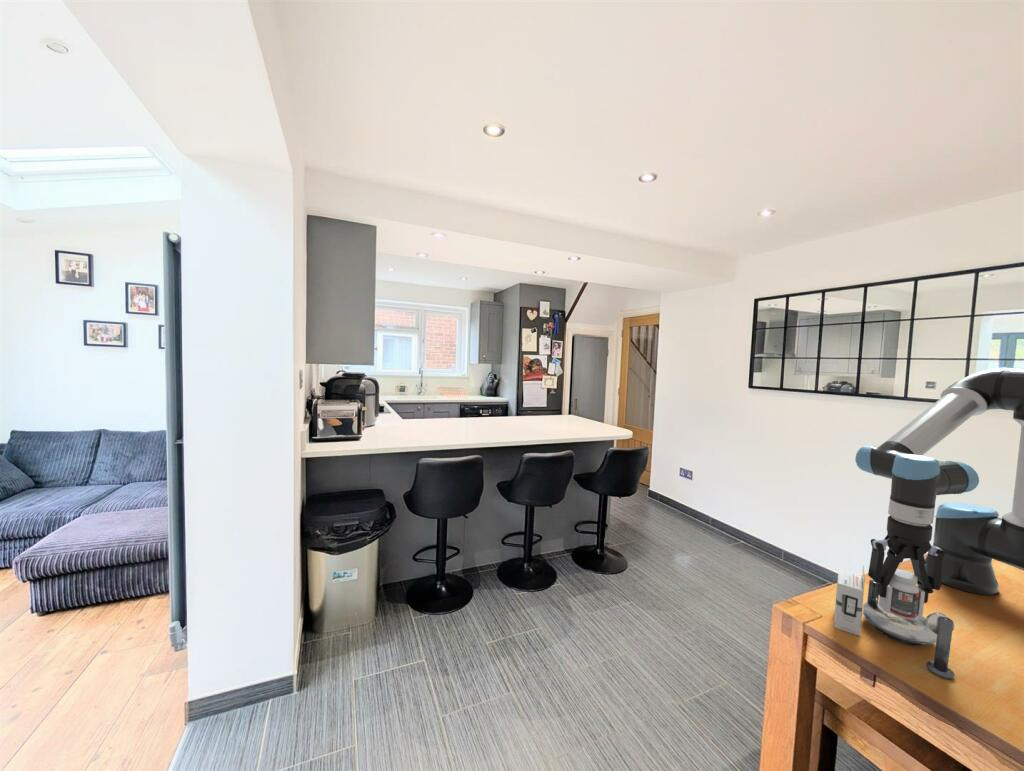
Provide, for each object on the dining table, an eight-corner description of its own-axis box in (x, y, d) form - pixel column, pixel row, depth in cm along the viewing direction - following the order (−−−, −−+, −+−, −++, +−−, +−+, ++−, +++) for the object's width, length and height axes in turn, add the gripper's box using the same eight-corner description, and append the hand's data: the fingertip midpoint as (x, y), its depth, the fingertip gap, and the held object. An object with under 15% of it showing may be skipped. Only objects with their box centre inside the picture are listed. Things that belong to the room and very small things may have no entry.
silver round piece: (849, 605, 102) (851, 578, 101) (900, 607, 101) (903, 580, 101) (895, 642, 89) (899, 611, 88) (955, 645, 88) (959, 614, 88)
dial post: (960, 681, 81) (967, 626, 80) (935, 677, 82) (941, 623, 81) (944, 666, 85) (950, 614, 84) (920, 662, 86) (926, 610, 85)
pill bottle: (921, 623, 91) (925, 583, 90) (889, 615, 94) (893, 576, 93) (910, 609, 96) (914, 571, 95) (879, 602, 99) (883, 565, 98)
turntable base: (897, 619, 100) (897, 612, 100) (935, 645, 91) (936, 638, 91) (862, 619, 100) (863, 612, 100) (897, 645, 91) (898, 638, 91)
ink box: (834, 610, 103) (839, 557, 102) (859, 618, 100) (864, 564, 98) (833, 627, 96) (838, 571, 95) (860, 637, 93) (866, 579, 92)
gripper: (873, 521, 91) (864, 614, 93) (973, 531, 87) (961, 629, 89) (854, 509, 99) (845, 595, 101) (945, 518, 94) (934, 608, 96)
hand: (899, 611), depth 95 cm, fingers closed on pill bottle, 6 cm apart
